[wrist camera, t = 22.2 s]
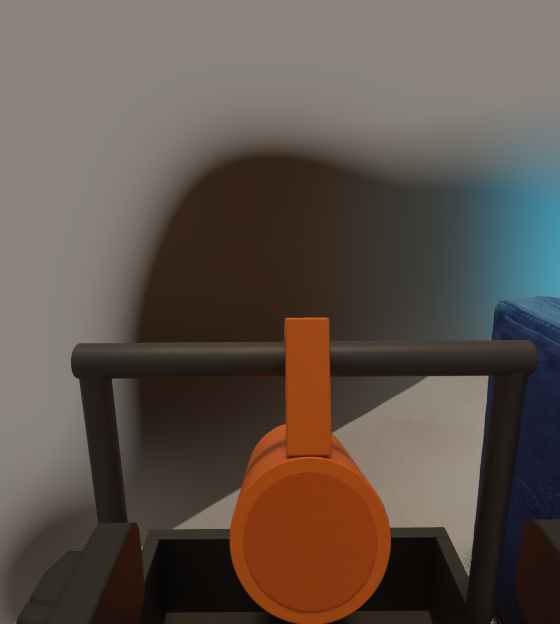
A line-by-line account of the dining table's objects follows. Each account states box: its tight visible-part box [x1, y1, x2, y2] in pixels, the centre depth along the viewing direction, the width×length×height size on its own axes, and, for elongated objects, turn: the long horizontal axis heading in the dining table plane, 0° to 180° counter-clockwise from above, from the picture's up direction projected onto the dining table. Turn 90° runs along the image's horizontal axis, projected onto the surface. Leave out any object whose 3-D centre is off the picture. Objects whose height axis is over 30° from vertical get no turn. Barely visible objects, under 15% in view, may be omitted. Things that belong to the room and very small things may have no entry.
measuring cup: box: [230, 318, 391, 624], centre depth 21 cm, size 10×6×9 cm
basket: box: [71, 340, 538, 624], centre depth 21 cm, size 18×12×20 cm, turn 90°
